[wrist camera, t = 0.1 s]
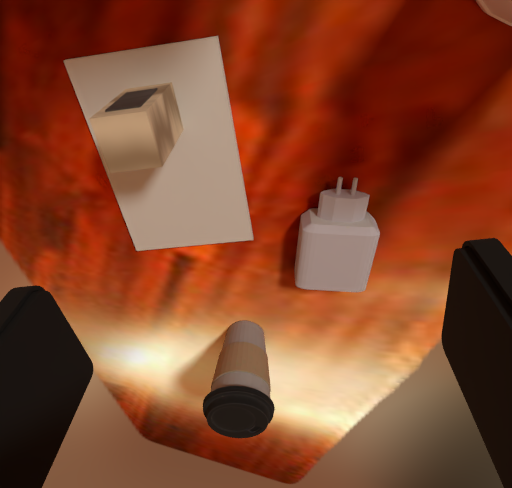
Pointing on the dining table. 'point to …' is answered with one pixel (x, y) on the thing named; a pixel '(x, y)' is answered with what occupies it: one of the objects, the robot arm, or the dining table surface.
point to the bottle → (497, 9)
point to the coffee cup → (240, 384)
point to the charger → (336, 242)
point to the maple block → (138, 128)
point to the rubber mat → (185, 150)
